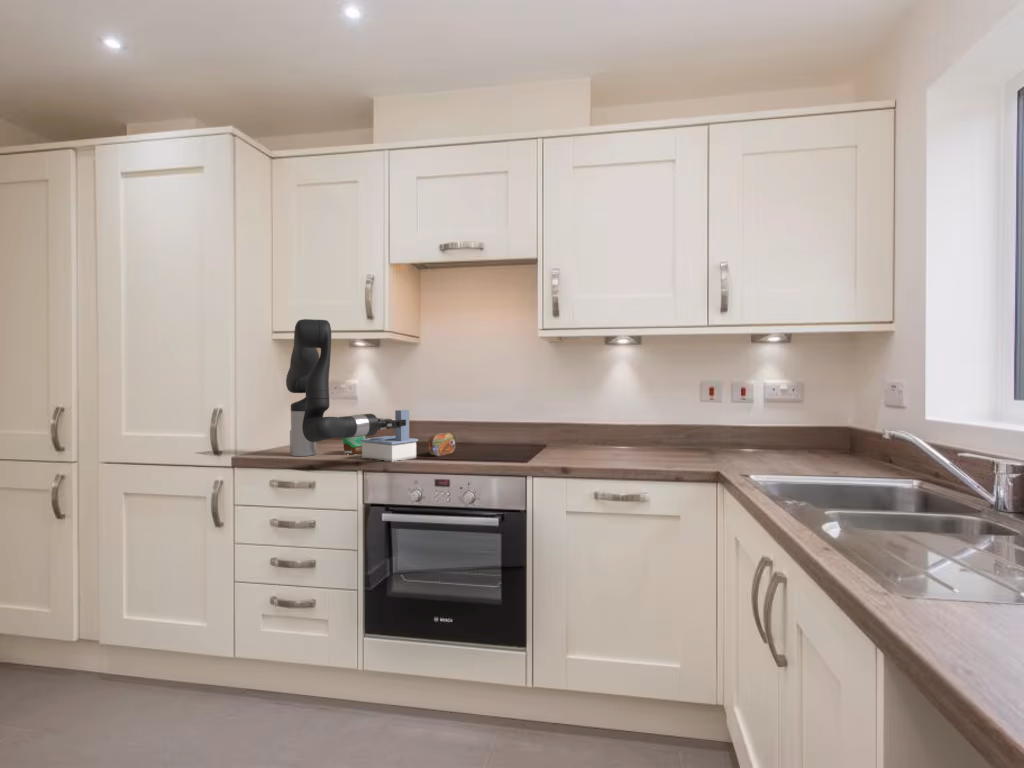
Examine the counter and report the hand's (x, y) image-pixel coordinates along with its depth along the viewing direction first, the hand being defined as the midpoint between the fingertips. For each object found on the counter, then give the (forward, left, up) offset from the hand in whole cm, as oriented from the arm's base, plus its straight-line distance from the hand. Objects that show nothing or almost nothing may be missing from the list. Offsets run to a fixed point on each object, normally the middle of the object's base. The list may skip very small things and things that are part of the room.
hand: (397, 421), depth 200 cm
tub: (-7, +3, -14) cm, 16 cm away
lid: (-7, +2, -8) cm, 11 cm away
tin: (+3, +21, -14) cm, 25 cm away
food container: (-26, +4, -14) cm, 30 cm away
